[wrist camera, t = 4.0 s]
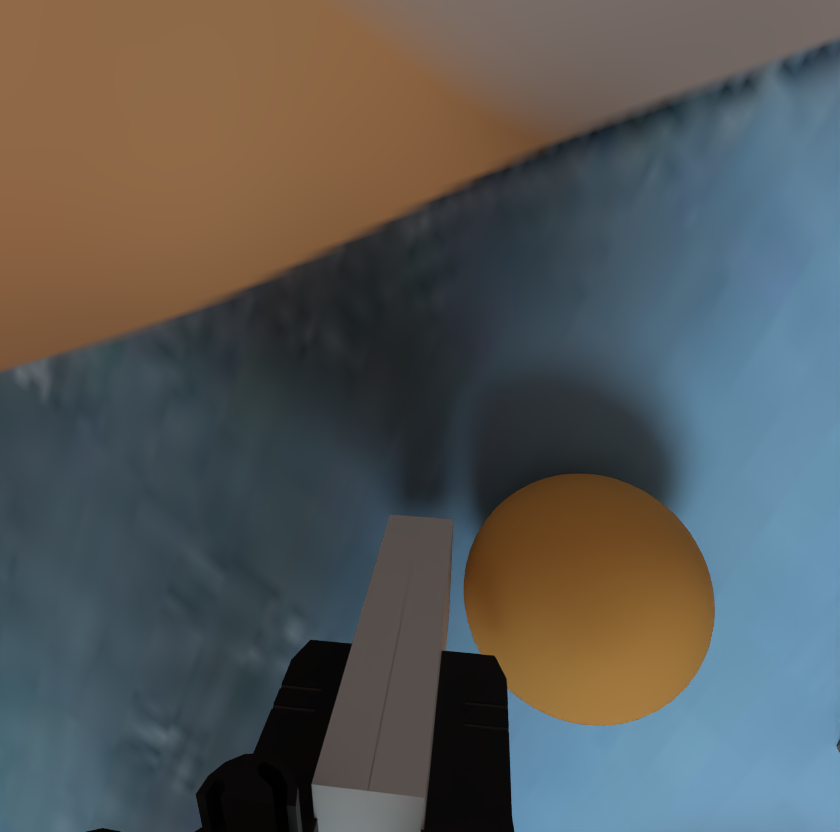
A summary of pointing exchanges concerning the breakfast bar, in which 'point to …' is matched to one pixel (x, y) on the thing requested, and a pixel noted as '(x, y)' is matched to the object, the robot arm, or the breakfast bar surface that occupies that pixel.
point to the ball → (589, 599)
